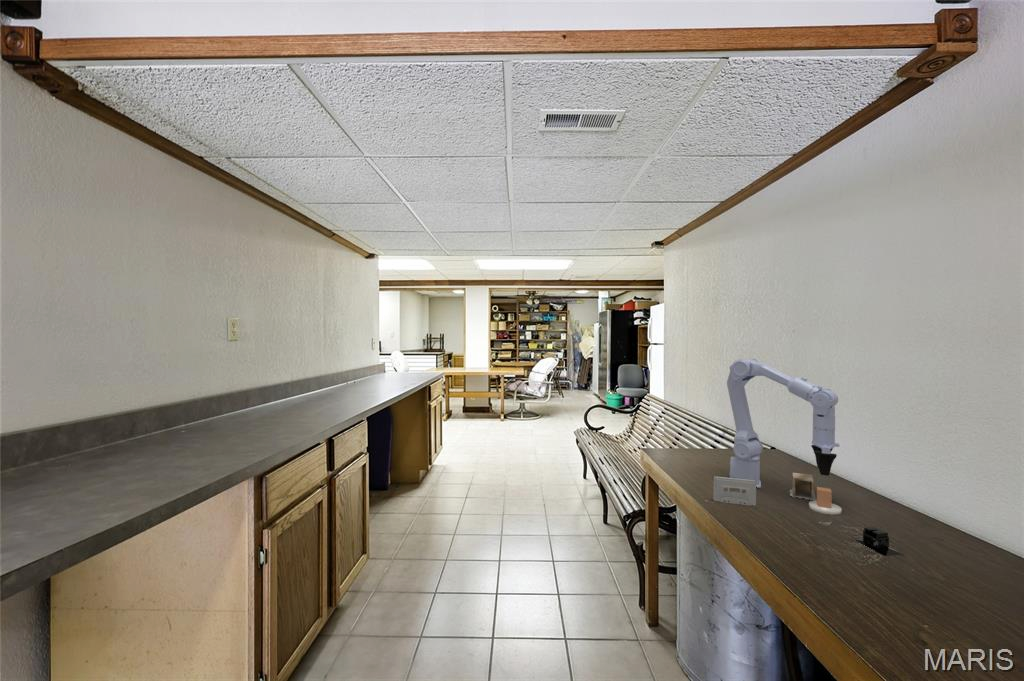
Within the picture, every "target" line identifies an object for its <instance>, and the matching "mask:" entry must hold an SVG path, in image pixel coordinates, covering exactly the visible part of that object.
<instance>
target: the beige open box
mask: <svg viewBox="0 0 1024 681" xmlns="http://www.w3.org/2000/svg"><path fill="white" fill-rule="evenodd" d="M791 481H792V485H791V486H792V488H791V490H792V492H793V496H794V497H793V498H796V497H795V492H800V493H807V494H810V496H811V499H813V493H814V487H815V486H814V484H815V483H814V482H815V480H814V478H813V475H812V474H808V473H799V472H798V473H797V472H792V480H791Z"/></svg>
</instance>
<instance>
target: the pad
mask: <svg viewBox="0 0 1024 681" xmlns="http://www.w3.org/2000/svg"><path fill="white" fill-rule="evenodd" d="M789 490H790V491H789V496H792V497H791V498H796V497H798V499H802V498H805V499H804V500H809V499H810V501H817V496H816V494H815V493H814V492H813V499H811V496H810V494H807V493H800V492H795V497H794V496H793V492H792V489H789ZM790 492H791V493H790Z"/></svg>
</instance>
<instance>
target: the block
mask: <svg viewBox="0 0 1024 681" xmlns="http://www.w3.org/2000/svg"><path fill="white" fill-rule="evenodd" d="M832 495H833V491H832V489H831V488H830V487H824V486H816V501H817V506H819V507H825V508H831V509H832V504H833V503H832V500H833V498H832V497H833V496H832Z"/></svg>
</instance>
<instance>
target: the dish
mask: <svg viewBox="0 0 1024 681" xmlns="http://www.w3.org/2000/svg"><path fill="white" fill-rule="evenodd" d="M808 508H809V509H810V510H812V511H813V512H816V513H819V514H822V515H823V514H824V515H828V514H829V515H830V516H839V515H841V514H842V507H841V506H839V505H838V504H835V503H832V509H831V508H825V507H819V506H817V500H816V501H815V500H810V501H809V502H808ZM829 515H828V516H829Z"/></svg>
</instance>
